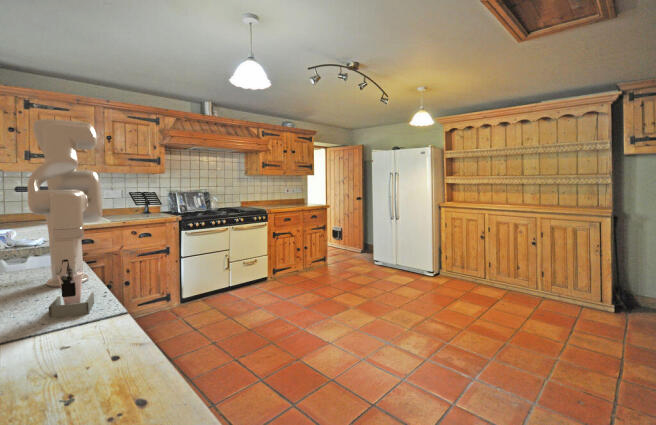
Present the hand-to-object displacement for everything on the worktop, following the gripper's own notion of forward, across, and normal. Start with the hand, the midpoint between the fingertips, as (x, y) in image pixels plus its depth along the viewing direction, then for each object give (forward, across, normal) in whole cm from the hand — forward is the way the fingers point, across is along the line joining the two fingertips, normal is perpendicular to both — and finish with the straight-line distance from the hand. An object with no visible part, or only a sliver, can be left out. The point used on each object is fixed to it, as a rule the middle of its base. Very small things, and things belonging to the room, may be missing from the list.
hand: (71, 291), depth 102 cm
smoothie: (+4, 0, 0) cm, 4 cm away
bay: (+6, 0, 0) cm, 6 cm away
